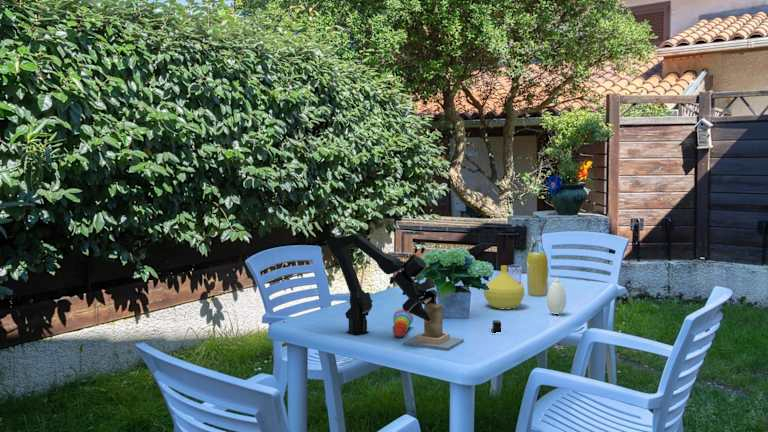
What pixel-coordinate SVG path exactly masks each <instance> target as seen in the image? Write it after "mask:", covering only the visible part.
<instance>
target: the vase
mask: <svg viewBox="0 0 768 432" xmlns="http://www.w3.org/2000/svg"><path fill="white" fill-rule="evenodd" d="M485 285H487V286H488V288H489V290H484V289H483V295H484V297H485V299H486V302H487V303H488V304H489V305H490V306H491V307H492V308H493V307H495V308H494V309H496V308H513V309H515V308H517V307H518V306H519V305H521V302H522V301H523V299H524V296H525V287H524V285H523V284H521V283H520V282H518V280H516V279H515V278H513V276H511V275H510V273H509V272H508V265H503V264H502V265H500V272H499V274H498V275H497V276H496V277H493V279H491V280H490V281H489V282H488V283H485ZM514 307H515V308H514Z"/></svg>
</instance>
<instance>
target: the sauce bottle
mask: <svg viewBox="0 0 768 432" xmlns="http://www.w3.org/2000/svg"><path fill="white" fill-rule="evenodd" d="M555 276H556V278H555V279H554V280H553V282H552V283H551V284H550V286H549V288H548V292H547V295H546V304H547V305H546V306H547V308H548V311H549V312H550V313H552V312H554V313H563V312H564V310H565V309H566V306H567V295H566V292H565V289H564V286H563V284H562V283H561V281H560V279H558V274H557V273H556V274H555Z"/></svg>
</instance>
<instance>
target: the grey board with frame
mask: <svg viewBox="0 0 768 432" xmlns="http://www.w3.org/2000/svg"><path fill="white" fill-rule="evenodd" d="M464 342H465V339H464V338H460V337H459V338H458V337H457V338H456V337H451V335H450V333H446V332H443V336H441V337H439V338H432V337H425V336H424V332H422V333H421V332H420V333H418V334H415V335H414V336H412V337H410V338H408V339H405V340H404V341H402V345H403V346H412V347H418V348H419V347H420V348H425V347H426V348H427V349H434V350H439V349H440V351H450V350H452V349H454V348H455V347H457V346H459V345H461V344H462V343H464Z"/></svg>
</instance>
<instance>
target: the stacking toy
mask: <svg viewBox="0 0 768 432" xmlns="http://www.w3.org/2000/svg"><path fill="white" fill-rule="evenodd" d="M409 311H410V310H409ZM409 311H408V312H409ZM408 312H405V311H404V310H403V307H401V308H398V309H396V310H395V312H394V314H393V318H392V319H393V329H392V332H393V334H394V335H395V337H397V338H403V337H405V335H406V334H407V330H408V329H409V327H410V326H411V325H412V323H413V321H414V314H411V313H408Z"/></svg>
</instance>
